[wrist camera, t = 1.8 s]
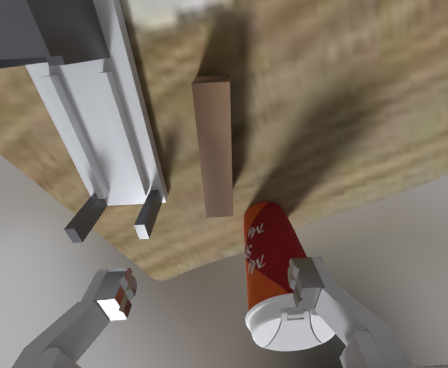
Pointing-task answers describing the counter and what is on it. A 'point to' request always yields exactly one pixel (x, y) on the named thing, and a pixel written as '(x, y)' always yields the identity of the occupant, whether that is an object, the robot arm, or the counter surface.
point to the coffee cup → (276, 283)
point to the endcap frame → (89, 100)
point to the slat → (214, 141)
